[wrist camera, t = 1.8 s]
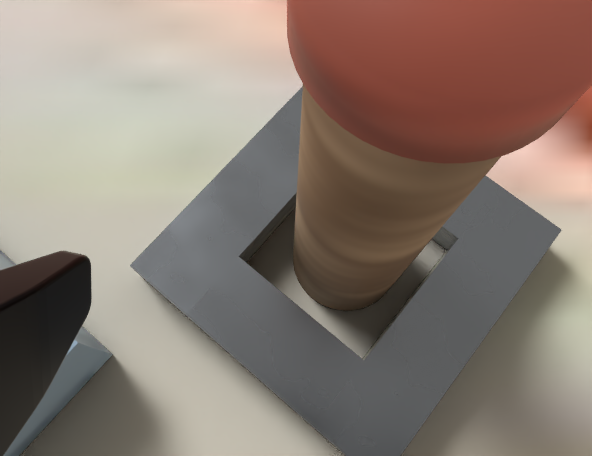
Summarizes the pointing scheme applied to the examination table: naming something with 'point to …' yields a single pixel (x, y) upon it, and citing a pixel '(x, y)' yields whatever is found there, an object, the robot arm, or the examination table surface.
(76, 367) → the pin tray
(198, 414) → the examination table surface
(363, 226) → the pin
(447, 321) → the plate
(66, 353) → the robot arm
